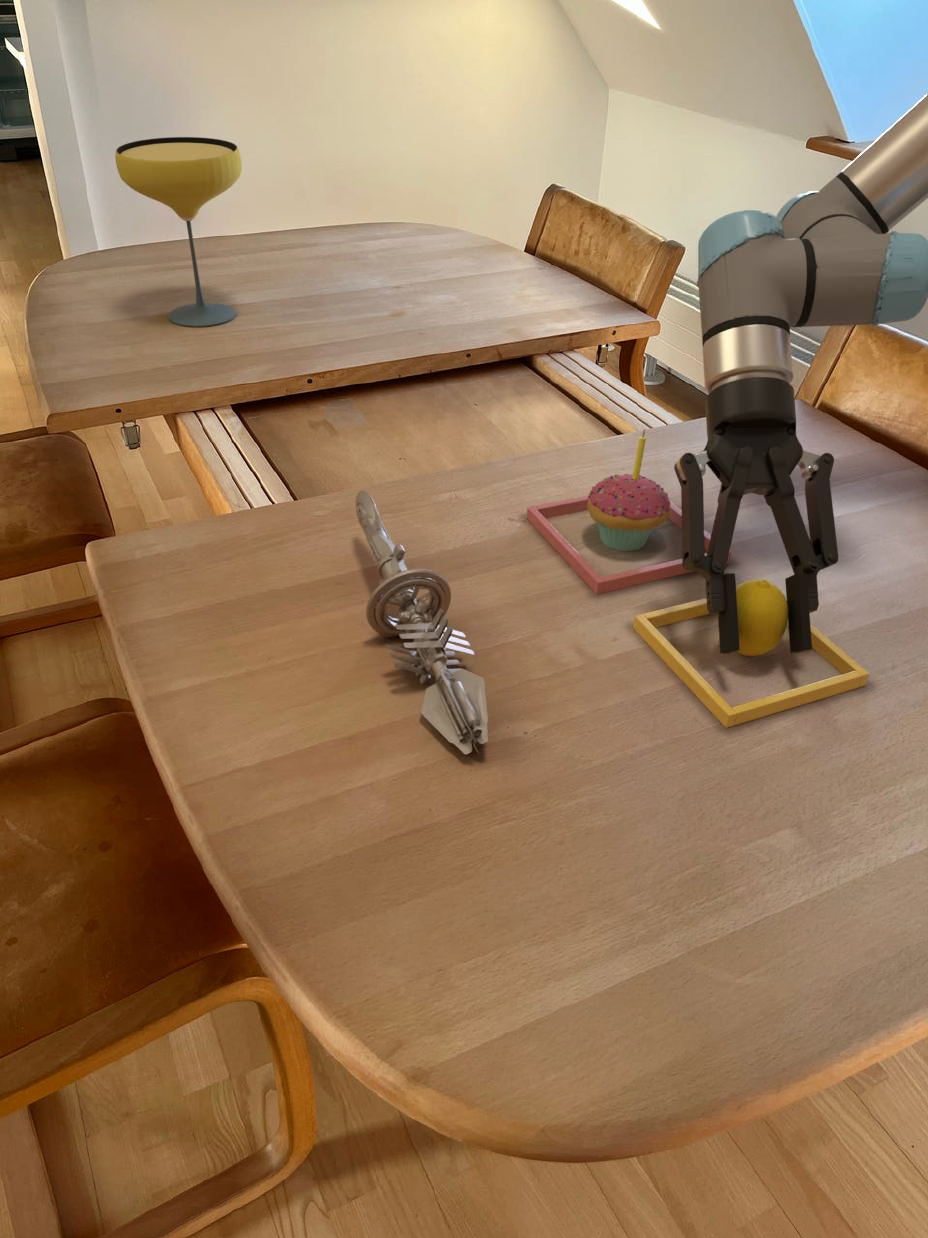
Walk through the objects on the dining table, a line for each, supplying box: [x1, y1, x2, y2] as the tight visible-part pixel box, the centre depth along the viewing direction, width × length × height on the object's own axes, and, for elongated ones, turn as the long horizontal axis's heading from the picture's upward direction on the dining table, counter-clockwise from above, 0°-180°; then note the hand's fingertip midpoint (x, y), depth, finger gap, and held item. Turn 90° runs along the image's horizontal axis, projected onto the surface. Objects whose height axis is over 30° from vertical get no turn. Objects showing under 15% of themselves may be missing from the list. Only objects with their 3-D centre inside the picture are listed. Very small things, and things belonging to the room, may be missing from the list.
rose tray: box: [526, 495, 732, 595], centre depth 99 cm, size 16×16×2 cm
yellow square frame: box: [632, 597, 870, 728], centre depth 84 cm, size 15×15×2 cm
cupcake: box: [587, 428, 671, 552], centre depth 96 cm, size 9×8×12 cm
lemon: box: [736, 578, 788, 657], centre depth 82 cm, size 6×6×8 cm
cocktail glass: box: [114, 136, 243, 328], centre depth 146 cm, size 18×18×25 cm
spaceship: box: [355, 490, 489, 755], centre depth 84 cm, size 8×35×8 cm
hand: (765, 651), depth 79 cm, fingers closed on lemon, 5 cm apart
